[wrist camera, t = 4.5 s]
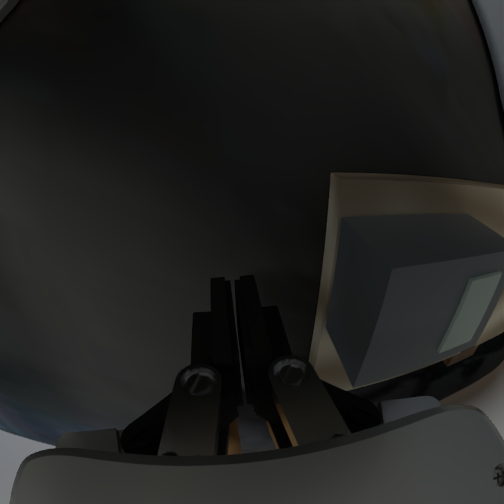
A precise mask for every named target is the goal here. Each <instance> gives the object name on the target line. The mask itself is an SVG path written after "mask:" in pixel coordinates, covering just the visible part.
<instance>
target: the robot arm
mask: <svg viewBox="0 0 504 504" xmlns="http://www.w3.org/2000/svg"><path fill="white" fill-rule="evenodd" d="M18 2H19V0H0V23H1V22H2V20H3V19H4V18H5V17H6V16H7V15H8V13H9V12H10V11H11V10H12V9H13V8H14V7H15V5H16V4H17V3H18ZM235 296H236V312H237V327H238V338H239V346H240V354H241V361H242V369H243V376H244V383H245V390H246V397H247V404H248V405H251V404H253V406H254V412H256V414H257V415H258V416H260V417H262V418H263V419H265V420H266V424H267V427H268V429H269V432H270V434H271V437H272V439H273V442H274V445H275V447H276V450H269V451H261V452H253V453H243V454H231V455H228V446H229V434H230V424H231V423H232V422H233V421H234V420H235V419H236V418H237V417H238V410H237V406H241V405H243V400H242V388H241V375H240V362H239V351H238V343H237V335H236V326H235V318H234V309H233V301H232V292H231V283H230V280H229V281H225V279H224V277H220V278H211V311H210V312H195V313H193V325H192V347H191V365H189V366H187V367H185V368H183V369H182V370H181V371H180V372H179V373H178V375H177V377H176V379H175V383H174V387H173V391H172V393H170V394H169V395H168V396H166V397H165V398H164V399H163V400H161V401H160V402H159V403H157V404H156V405H155V406H153V407H152V408H151V409H150V410H148V411H147V412H146V413H144V414H143V415H142V416H140V417H139V418H138V419H136V420H135V421H133V422H132V423H131V424H129V425H128V426H127V427H126V428H125V429H124V430H117V429H116V428H113V429H104V430H94V431H82V432H69V433H65V434H63V435H62V436H60V437H59V439H58V441H57V443H56V448H54V449H47V450H42V451H39V452H36V453H34V454H31V455H29V456H28V457H26V458H25V459H24V461H23V462H22V463H21V465H20V467H19V469H18V472H17V474H16V477H15V480H14V484H13V488H12V492H11V499H10V504H504V440H503V438H502V436H501V435H500V433H499V432H498V430H497V428H496V427H495V426H494V424H493V423H492V421H491V420H490V419H489V418H488V416H487V415H486V414H485V413H484V412H483V411H481V410H480V409H478V408H477V407H474V406H470V405H444V406H441V404H440V402H439V401H438V400H437V399H436V398H434V397H431V396H420V397H412V398H404V399H395V400H385V401H380V402H379V403H378V404H373V403H372V402H370V401H368V400H366V399H364V398H361V397H359V396H357V395H354V394H352V393H350V392H347V391H345V390H343V389H341V388H338V387H336V386H334V385H332V384H330V383H327V382H325V381H323V380H321V379H320V378H319V376H318V374H317V373H316V371H315V369H314V367H313V366H312V365H311V363H310V362H309V361H308V360H306V359H305V358H303V357H300V356H296V355H292V353H291V350H290V346H289V343H288V340H287V337H286V333H285V330H284V327H283V324H282V320H281V317H280V314H279V311H278V308H277V306H269V307H261V303H260V299H259V294H258V290H257V286H256V282H255V278H254V275H245V276H240V280H235Z"/></svg>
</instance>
